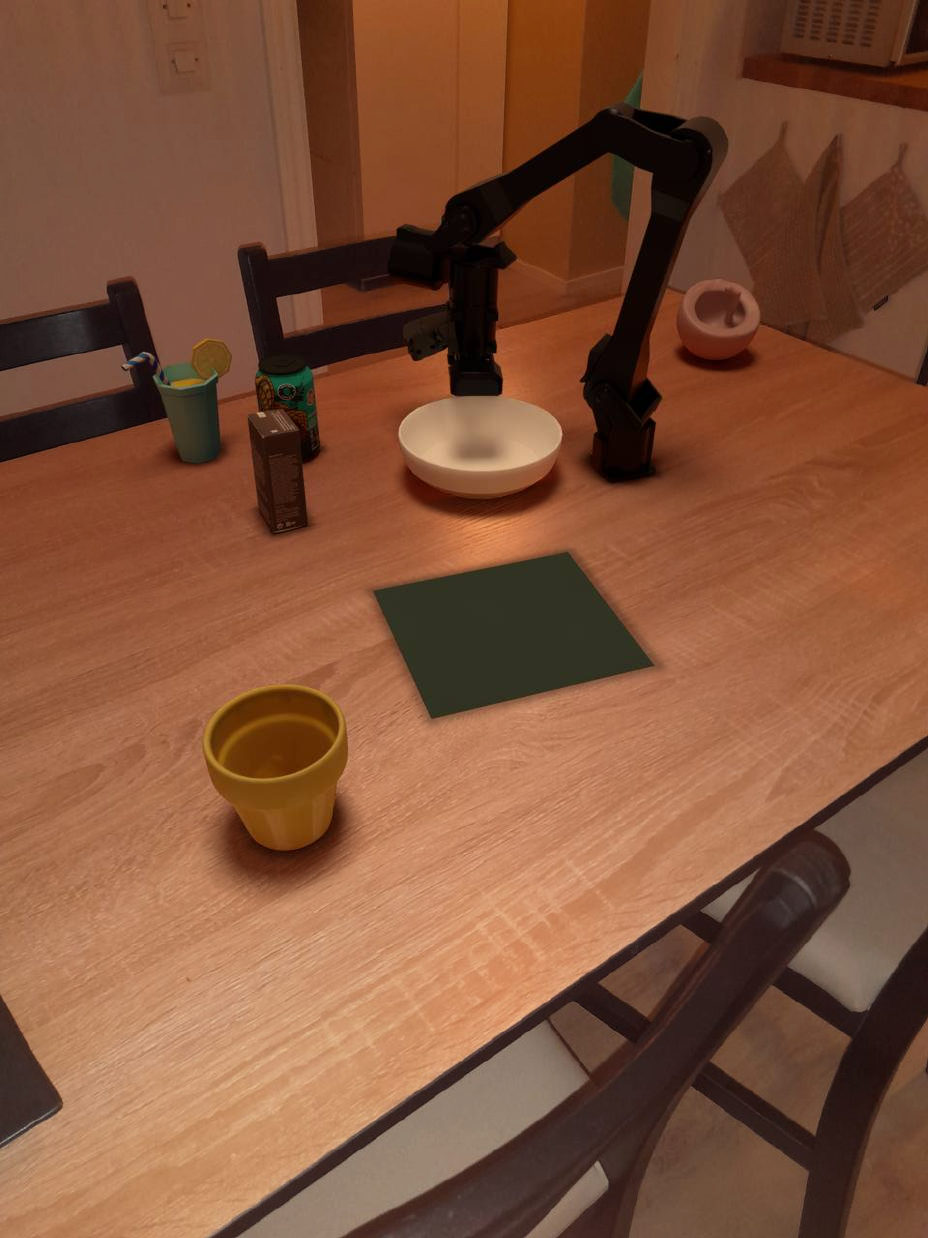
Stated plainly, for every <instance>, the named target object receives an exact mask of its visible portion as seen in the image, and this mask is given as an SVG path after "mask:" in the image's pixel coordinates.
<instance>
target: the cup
mask: <svg viewBox="0 0 928 1238" xmlns="http://www.w3.org/2000/svg"><path fill="white" fill-rule="evenodd" d="M232 359H233V354H232V353H231V351H230V349H229V348H228V346H227V345H226V343H225V342H224V341H223V340H219V339H215V338H214V339H213V338H208V337H206V338H204V339H203V340H201V341H200V342H199V343H197V344H195V345H194V346H193V347H192V350H191V355H190V361H187V362H181V363H175V364H170V365H166V366H165V367H163V368H162V367H161V364H160V363H159V362H158V360H157V359H156V357H155V355H153V354H151V353H149V352H145V351H142V352H141V353H139V354H138V355H136V356H134V357H133V358H131V359H129V360H128V361H126V362H124V363H123V364H121V365H120V368H121V369H122V371H124V372H127V371H129V370H131V369H133V368H134V367H136V366H138V365H139V364H142V363H143V362H145V361H149V363H150V366H151V367H152V368H153V370H154V371H155V374H154V375H153V376H152V378H153V381H154V384H155V387H156V388H157V390H158V391H159V394H160V397H161V401H162V403H163V407H164V409H165V413H166V417H167V420H168V423H169V426H170V429H171V433H172V437H173V439H174V442H175V445H176V449H177V453H178V456H179V457H180V458H181V460H182V462H185V463H191V464H197V465H198V464H203V463H207V462H211V461H214V460H215V459H217V458H218V457H219V456H220V455H221V454H222V442H221V440H222V439H221V428H220V415H219V413H220V412H219V399H218V387H217V386H218V385H217V384H218V383H219V379H221V378H222V377H223V376H225V375H226V374H228V373H229V372H230V369H231V364H232Z"/></svg>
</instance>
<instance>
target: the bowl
mask: <svg viewBox="0 0 928 1238" xmlns="http://www.w3.org/2000/svg"><path fill="white" fill-rule="evenodd" d="M397 434H398V435H397V436H398V442H399V448H400V452H401V454H402V457H403V459H404V462H405V463H406V465H407V467H408V469H409V470H410V471H411V472H412V474H413V475H415V476H416V477H417V478H419V479H420V480H421V481H423V482H424V483H425V484H427V485H428V486H430V487H431V488H434V489H436V490H437V491H440V492H443V493H445V494H448V495H452V496H456V497H458V498H464V499H470V500H490V499H497V498H502V497H505V496H509V495H510V496H511V495H513V494H516V493H519V492H522V491H524V490H526V489H527V488H529V487H531V486H533V485H534V484H535V483H537V482H538V481H540V480H542V479H543V478H544V477H545V476H547V474H549V473H550V471H551V470H552V469H553V468H554V467H553V466H554V465H555V463H556V461H557V459H558V457H559V454H560V450H561V444H562V440H563V435H564V434H563V429H562V426H561V425H560V423H559V422H558V420H557V419H556V418H555V417H554V416H553V414H551V413H549V411H547V410H546V409H543V408H542V407H540V406H538V405H535V404H533V403H531V402H527V401H524V400H521V399H517V398H514V397H513V398H512V397H508V396H507V397H506V396H502V395H499V396H452V397H447V398H442V399H437V400H435V401H432V402H429V403H426V404H424V405H422V406H419V407H417V408H416V409H414V410H413V411H411V412H409V414H408V415H406V417H405V418H404V419H403V420H402V421H401V422H400V425H399V427H398V433H397Z"/></svg>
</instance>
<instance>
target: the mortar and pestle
mask: <svg viewBox="0 0 928 1238" xmlns="http://www.w3.org/2000/svg"><path fill="white" fill-rule="evenodd" d="M761 316H762V315H761V309H760V306H759V303H758V302H757V300H756V298H755V297H754V295H753V294H752V293H751V292H750V291H749V290H748V289H746V288H745V287H744V286H742V285H740V284H738V283H736V282H732V281H728V280H725V279H722V278H721V279H720V278H716V279H715V278H714V279H704V280H702V281H698V282H696V283H695V284H694V285H692V286H691V287H689V289H688V290H687V292H686V293H685V294H684V295H683V297H682V299H681V301H680V302H679V305H678V309H677V312H676V320H675V321H676V330H677V334H678V337H679V339H680V341H681V342H682V344H683V346H684V347H685V348H686V349H687V350H688V351H689V352H690V353H692V354H693V355H694V356H696V357H698V358H701V359H702V360H703V359H704V360H708V361H722V360H727V359H730V358H732V357H735V356H737V355H739V354H741V353H742V352H743V351H744V350H745V349H746V348H748V346H749V345H750V344H751V343H752V342H753V340H754V339H755V337H756V335H757V333H758V330H759V327H760V324H761V318H762V317H761Z"/></svg>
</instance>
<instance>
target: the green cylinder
mask: <svg viewBox="0 0 928 1238" xmlns="http://www.w3.org/2000/svg"><path fill="white" fill-rule="evenodd" d="M257 367H258V369H257V371H256V374H255V376H254V386H255V394H256V400H257V407H258V413H259V412H265V411H271V410H278V409H283V410H284V411H285V412H286V414H287V415H288V416H289V417H290V419H291V420H292V421H293V423H294V424H295V425H296V426H297V428H298V429H299V434H300V445H301V456H302V462H305V461H307V460H309V459H311V458H313V457H314V456H315V455H316V454H317V452H318V451H319V450H320V447H321V439H320V429H319V420H318V410H317V400H316V399H317V398H316V390H315V380H314V374H313V372H312V370H311V368H309V366H308V365H307V360H306V358H305V357H304V356H302V355H299V354H296V353H289V352H284V353H283V352H282V353H281V352H280V353H273V354H270V355H267V356H264V357H263V358H261V359H260V360H258V363H257Z"/></svg>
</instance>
